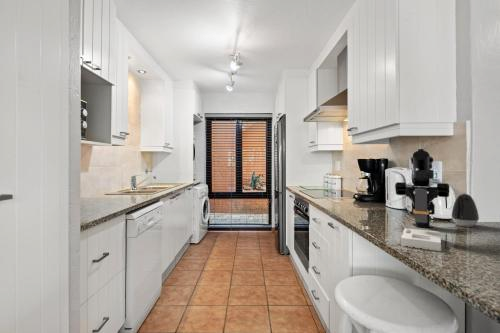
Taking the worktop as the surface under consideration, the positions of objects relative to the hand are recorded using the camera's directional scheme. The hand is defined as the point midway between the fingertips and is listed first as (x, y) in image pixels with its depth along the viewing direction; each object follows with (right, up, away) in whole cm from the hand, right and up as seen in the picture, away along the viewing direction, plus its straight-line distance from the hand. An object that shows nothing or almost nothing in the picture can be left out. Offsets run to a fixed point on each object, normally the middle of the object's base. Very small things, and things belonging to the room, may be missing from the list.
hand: (420, 205), depth 107 cm
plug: (+1, -7, +1) cm, 7 cm away
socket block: (-2, -14, -3) cm, 14 cm away
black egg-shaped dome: (+35, -13, +21) cm, 43 cm away
